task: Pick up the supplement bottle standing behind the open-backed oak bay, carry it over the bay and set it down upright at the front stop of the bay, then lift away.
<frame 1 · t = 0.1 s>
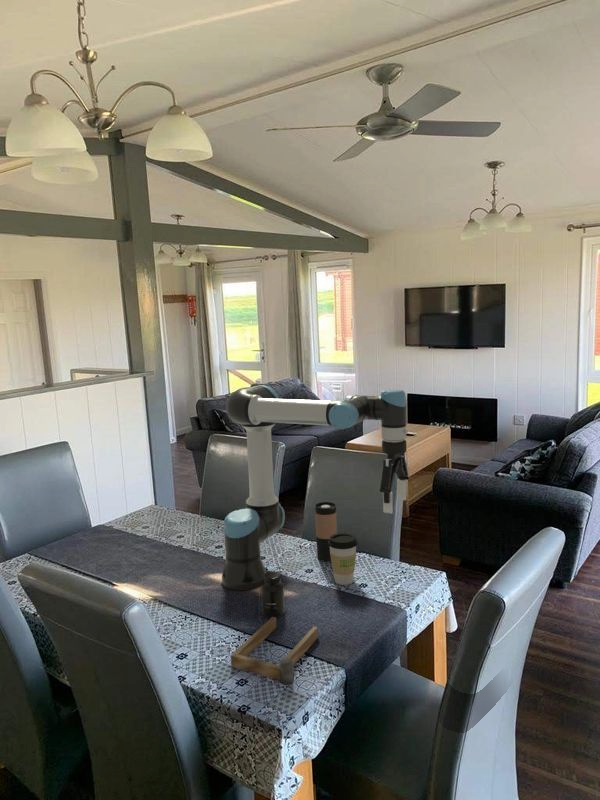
hand: (395, 506, 183), 28 cm above the table, fingers open, 13 cm apart
supplement bottle: (273, 613, 176), on the table
bay: (277, 650, 156), on the table
coffee cup: (343, 581, 195), on the table
travel mug: (327, 558, 215), on the table
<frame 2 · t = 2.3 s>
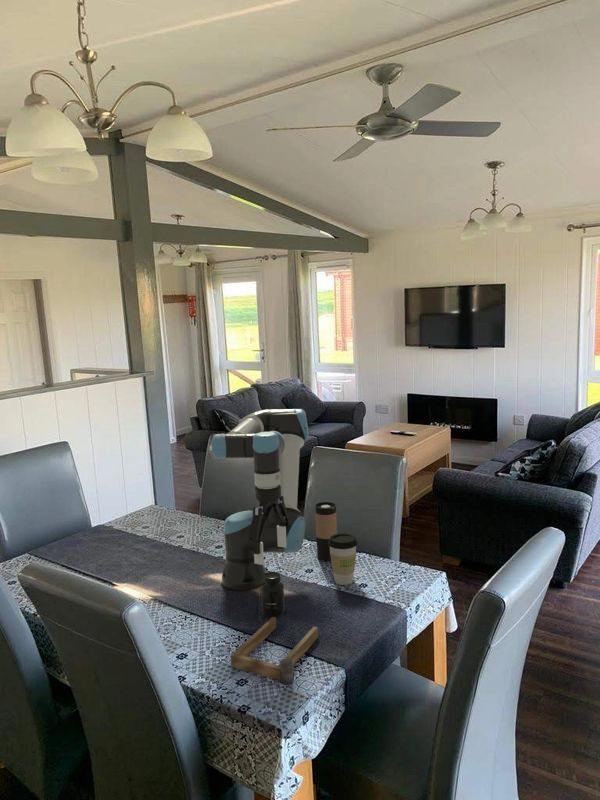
hand: (271, 555, 173), 18 cm above the table, fingers open, 13 cm apart
nothing on the table moved.
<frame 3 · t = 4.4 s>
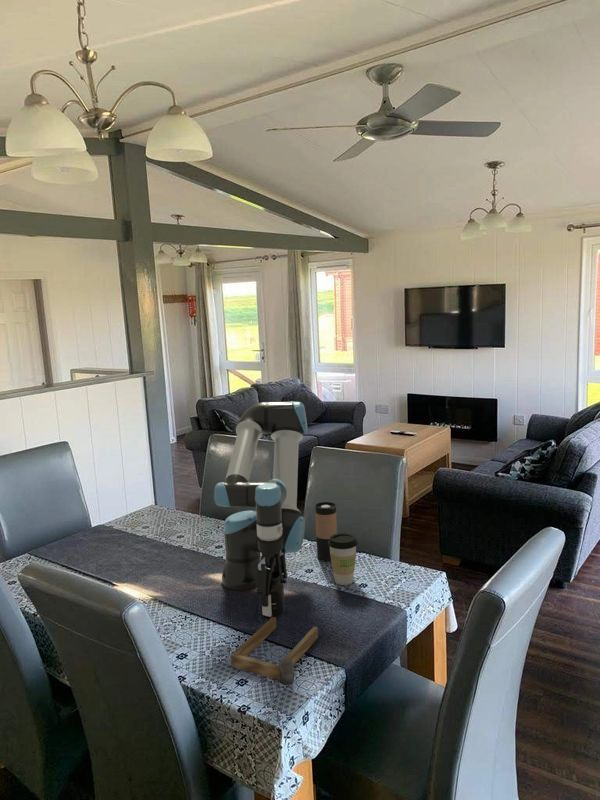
hand: (273, 609, 176), 1 cm above the table, fingers closed on supplement bottle, 7 cm apart
supplement bottle: (273, 613, 176), on the table, touching gripper
everything else where it was.
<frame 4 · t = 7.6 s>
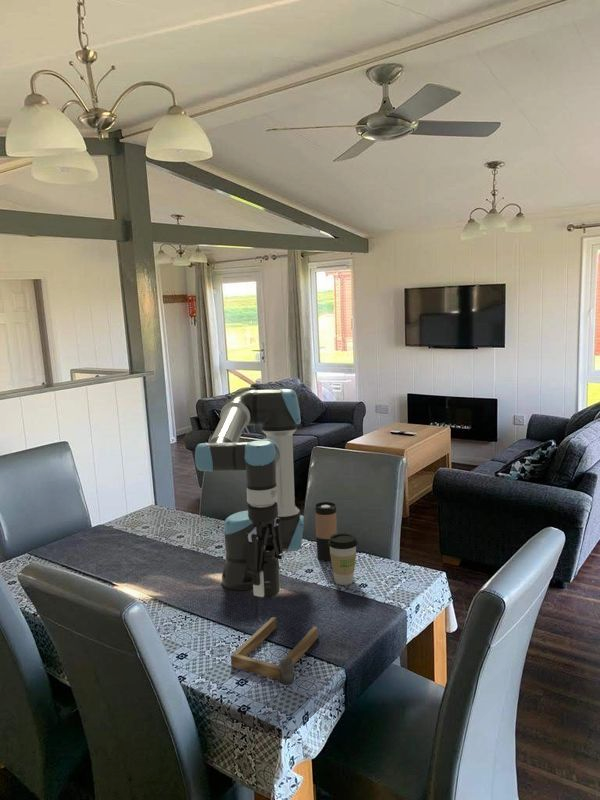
hand: (266, 589, 150), 19 cm above the table, fingers closed on supplement bottle, 7 cm apart
supplement bottle: (266, 593, 150), point 18 cm above the table, touching gripper
everything else where it was.
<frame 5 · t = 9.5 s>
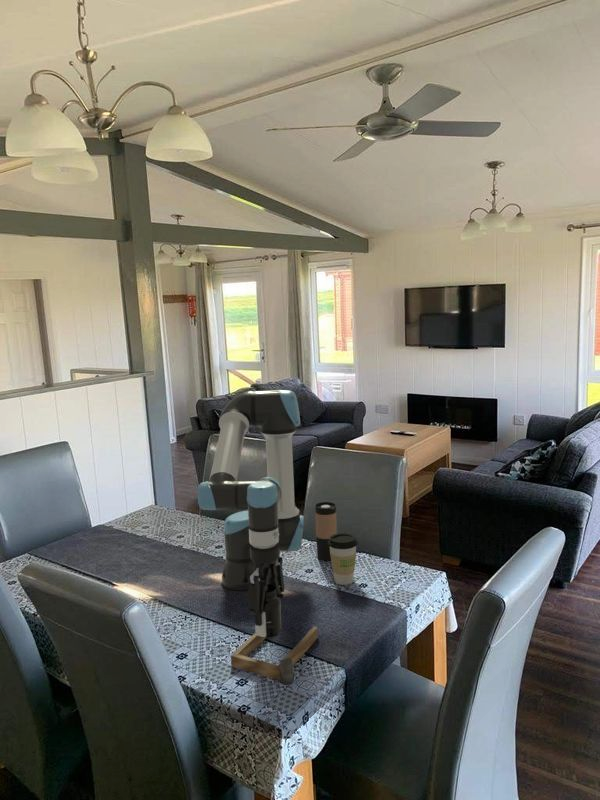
hand: (268, 628, 151), 8 cm above the table, fingers closed on supplement bottle, 7 cm apart
supplement bottle: (268, 632, 151), point 7 cm above the table, touching gripper
everything else where it was.
when the fingers open (3 cm above the table, at t = 11.0 s): supplement bottle drops 2 cm, resting in bay.
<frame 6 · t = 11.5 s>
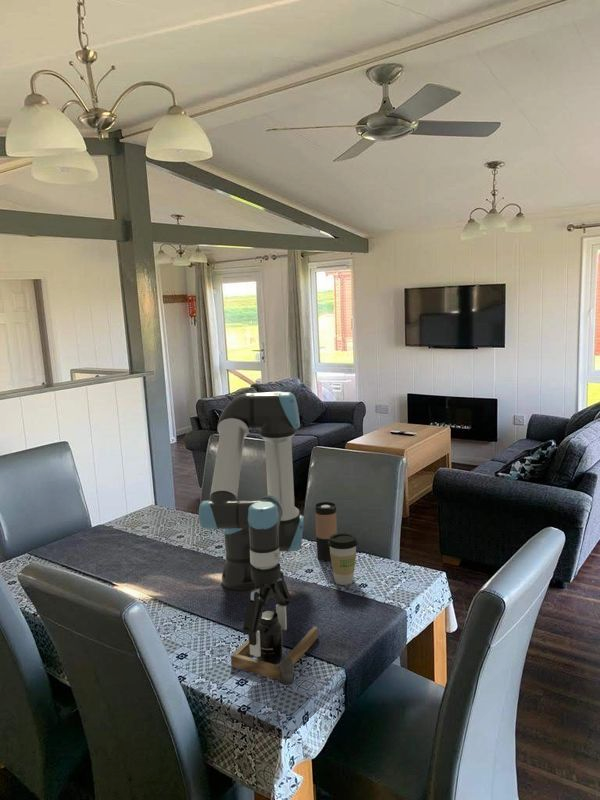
hand: (269, 641, 152), 5 cm above the table, fingers open, 13 cm apart
supplement bottle: (270, 658, 153), resting in bay
everything else where it was.
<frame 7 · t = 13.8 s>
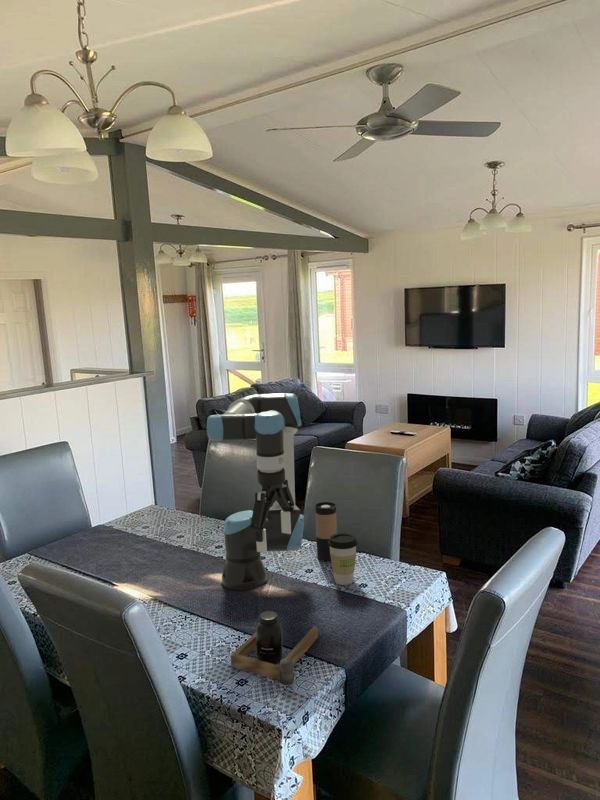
hand: (274, 542, 163), 26 cm above the table, fingers open, 13 cm apart
nothing on the table moved.
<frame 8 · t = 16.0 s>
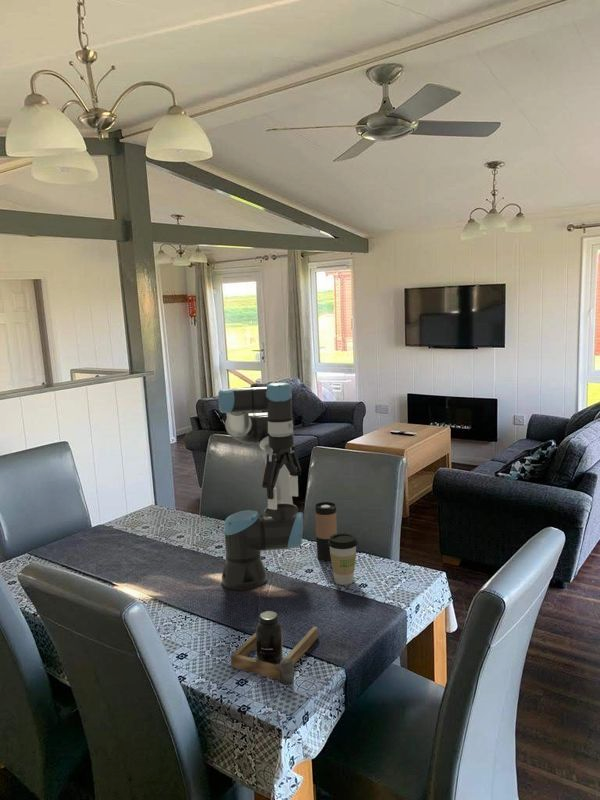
hand: (283, 502, 179), 32 cm above the table, fingers open, 13 cm apart
nothing on the table moved.
at the end: supplement bottle inside the target area (0.1 cm from its centre), resting in bay; supplement bottle tilted 0°; the gripper is holding nothing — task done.
